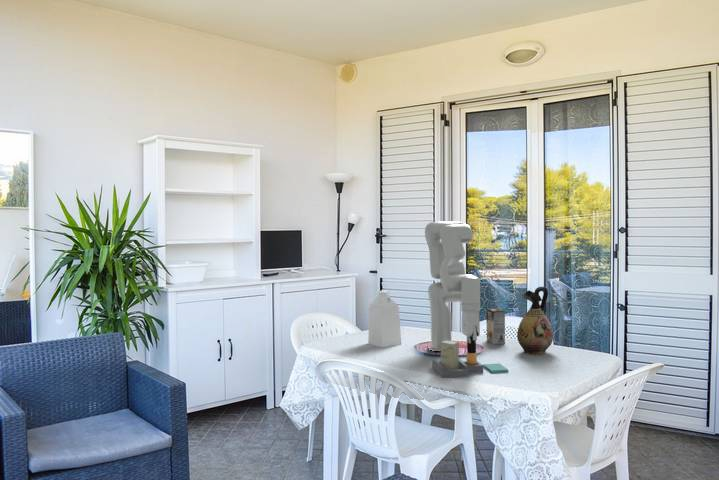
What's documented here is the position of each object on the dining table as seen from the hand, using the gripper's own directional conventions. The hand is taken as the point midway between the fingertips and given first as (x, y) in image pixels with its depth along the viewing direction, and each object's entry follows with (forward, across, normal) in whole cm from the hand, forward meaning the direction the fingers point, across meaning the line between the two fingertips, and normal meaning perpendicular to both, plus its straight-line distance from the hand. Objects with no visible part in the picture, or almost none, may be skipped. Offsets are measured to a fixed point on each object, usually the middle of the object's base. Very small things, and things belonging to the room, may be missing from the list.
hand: (471, 352), depth 233 cm
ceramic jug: (+8, -23, +38) cm, 45 cm away
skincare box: (+8, 0, -9) cm, 12 cm away
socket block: (+7, 0, -5) cm, 9 cm away
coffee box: (+7, -48, +28) cm, 56 cm away
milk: (+7, -56, -26) cm, 63 cm away
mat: (+8, 0, +10) cm, 13 cm away
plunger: (+6, 0, 0) cm, 6 cm away
